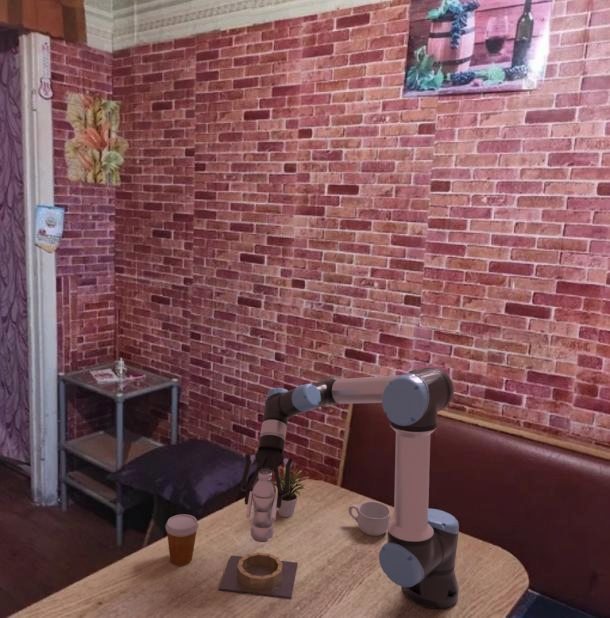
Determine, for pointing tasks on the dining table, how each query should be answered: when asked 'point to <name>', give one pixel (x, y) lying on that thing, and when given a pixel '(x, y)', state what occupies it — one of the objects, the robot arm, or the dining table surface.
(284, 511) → the house plant
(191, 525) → the disposable coffee cup
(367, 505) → the teacup
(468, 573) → the dining table surface
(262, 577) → the collar stand
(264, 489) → the plastic bottle
